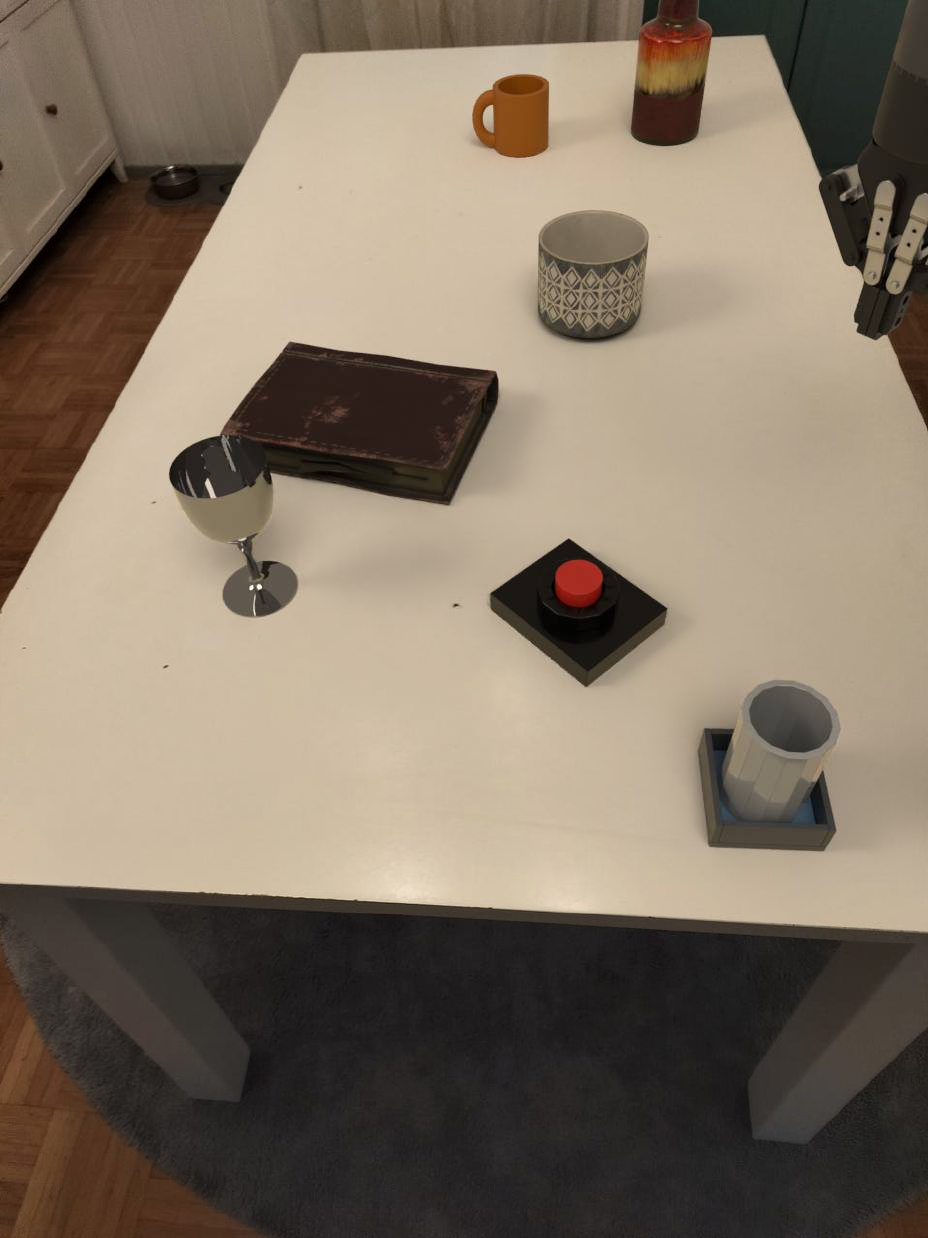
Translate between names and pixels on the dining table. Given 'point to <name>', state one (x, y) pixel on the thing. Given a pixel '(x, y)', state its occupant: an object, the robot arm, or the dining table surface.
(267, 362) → the dining table surface
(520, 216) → the dining table surface
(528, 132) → the mug
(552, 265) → the planter
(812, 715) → the tumbler
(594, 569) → the button
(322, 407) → the diary
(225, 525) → the wine glass
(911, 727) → the dining table surface
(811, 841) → the tray
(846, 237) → the robot arm
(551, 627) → the control block
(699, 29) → the vase
